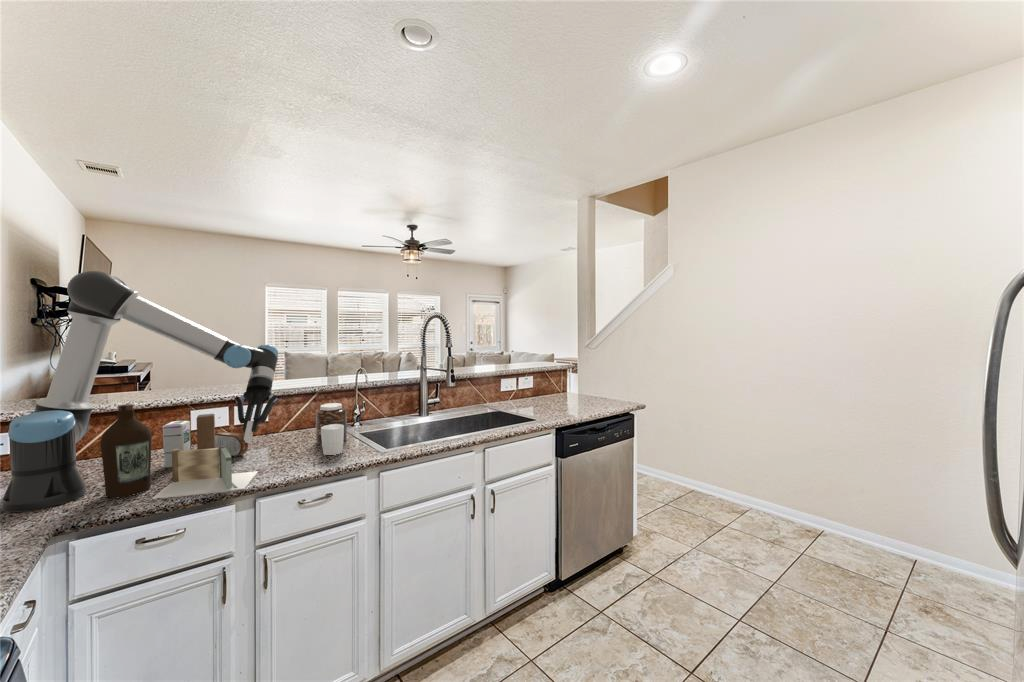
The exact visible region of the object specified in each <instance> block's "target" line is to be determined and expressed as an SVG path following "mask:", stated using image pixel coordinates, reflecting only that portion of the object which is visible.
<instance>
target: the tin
mask: <svg viewBox="0 0 1024 682" xmlns="http://www.w3.org/2000/svg"><path fill="white" fill-rule="evenodd" d="M223 445H226V449H227V450H228V452H229V454H230V455H231V456H234V457H233V458H236V457H240V456H243V455H245V454H246V453H247V452H248V449H249V444H248V443H246V442H245V440H244V435H243V434H242V433H240V432H232V431H223V430H222V431H219V432H215V448H219V446H223Z"/></svg>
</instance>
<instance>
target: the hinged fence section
mask: <svg viewBox="0 0 1024 682" xmlns="http://www.w3.org/2000/svg"><path fill="white" fill-rule="evenodd" d="M221 472H222V479H223V481H224V483H225V486H226V488H227V489H228V488H232V474H233V473H232V457H231V455H230V454H229V452H228V450H227V449H226V447H225V448H221Z"/></svg>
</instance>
